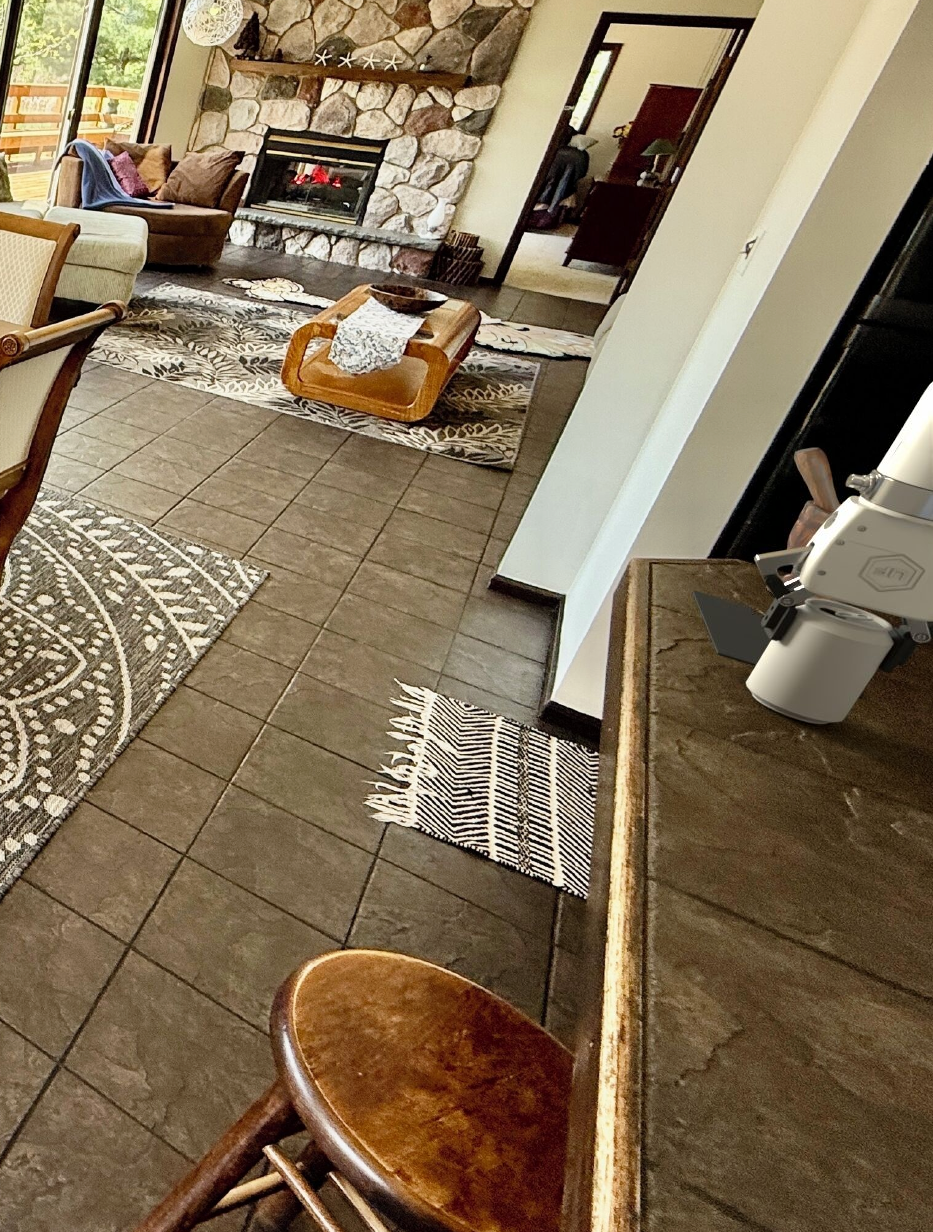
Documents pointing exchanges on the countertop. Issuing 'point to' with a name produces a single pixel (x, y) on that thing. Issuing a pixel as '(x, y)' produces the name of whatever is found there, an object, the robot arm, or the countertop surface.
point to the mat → (733, 628)
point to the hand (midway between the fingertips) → (825, 649)
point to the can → (821, 662)
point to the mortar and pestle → (812, 503)
